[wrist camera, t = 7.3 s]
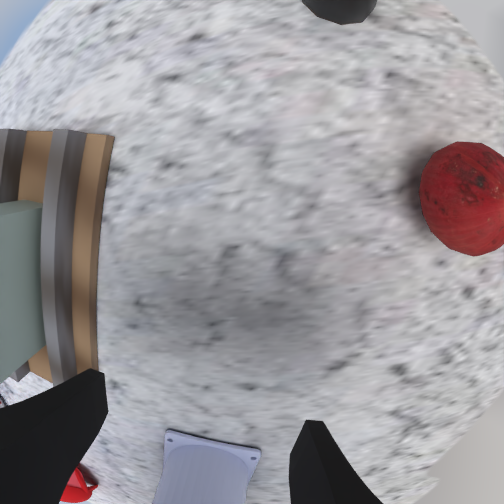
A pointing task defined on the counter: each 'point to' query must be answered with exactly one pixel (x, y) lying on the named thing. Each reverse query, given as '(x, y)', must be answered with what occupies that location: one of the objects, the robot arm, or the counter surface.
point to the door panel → (20, 284)
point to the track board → (61, 237)
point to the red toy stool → (77, 489)
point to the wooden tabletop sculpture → (341, 10)
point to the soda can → (2, 403)
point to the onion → (465, 197)
